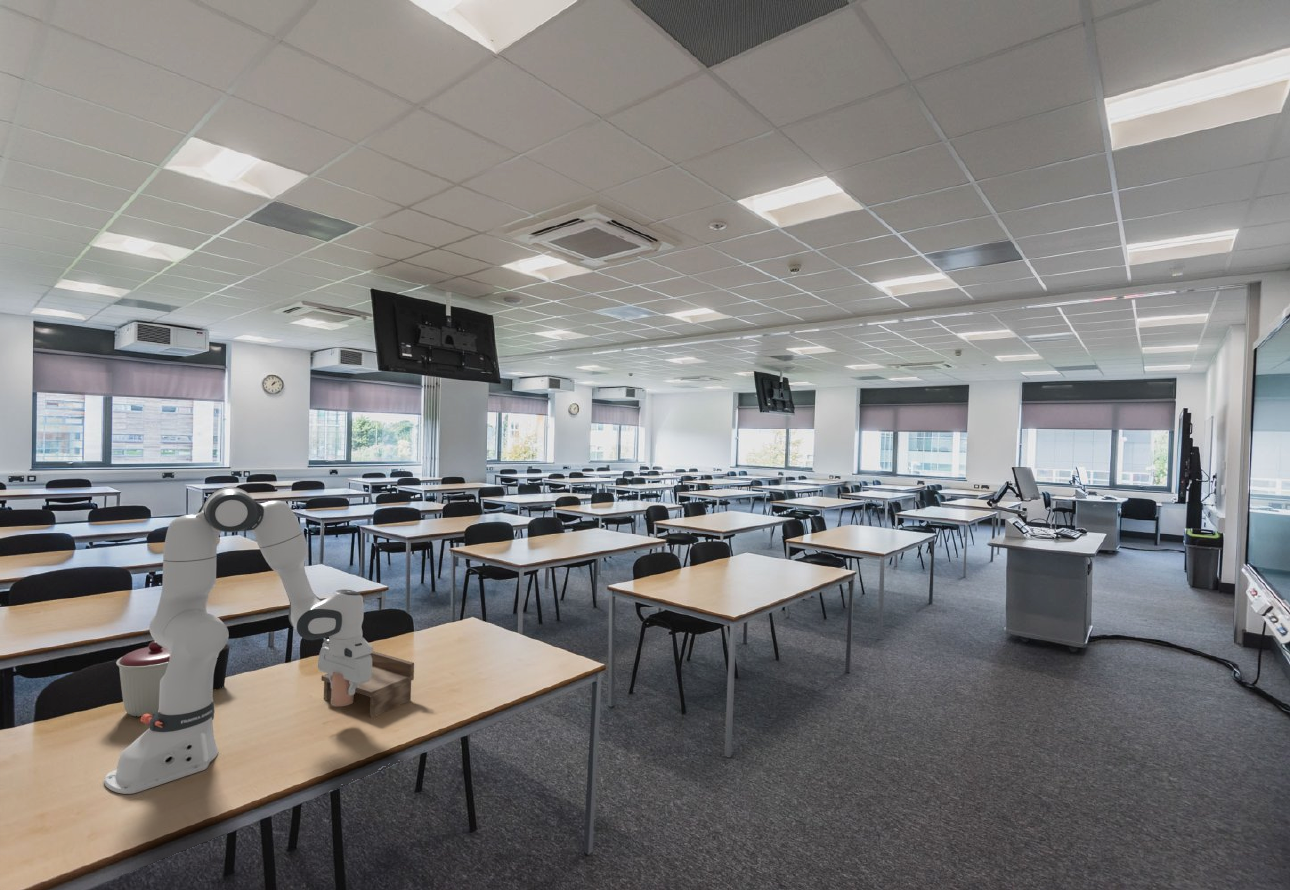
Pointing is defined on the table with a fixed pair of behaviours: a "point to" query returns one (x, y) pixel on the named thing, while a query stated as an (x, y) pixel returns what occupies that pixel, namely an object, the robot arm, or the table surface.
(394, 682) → the shelf
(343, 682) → the pink pillar candle
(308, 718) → the table surface
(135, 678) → the canister
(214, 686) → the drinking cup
